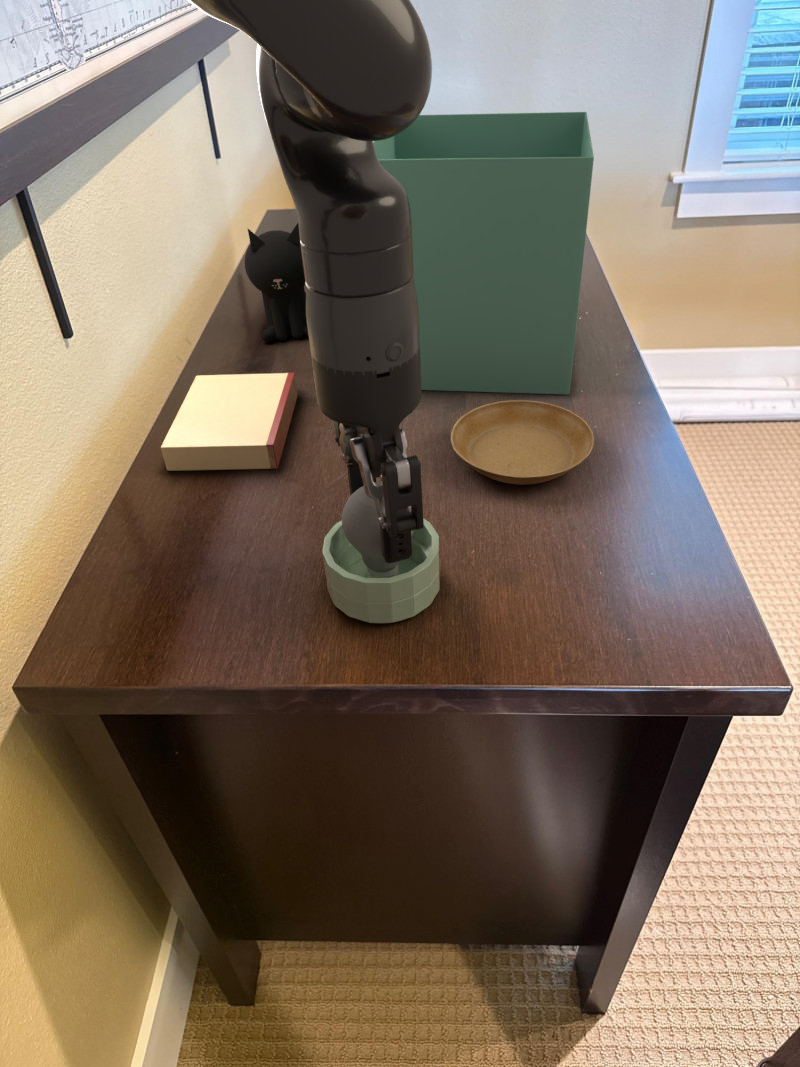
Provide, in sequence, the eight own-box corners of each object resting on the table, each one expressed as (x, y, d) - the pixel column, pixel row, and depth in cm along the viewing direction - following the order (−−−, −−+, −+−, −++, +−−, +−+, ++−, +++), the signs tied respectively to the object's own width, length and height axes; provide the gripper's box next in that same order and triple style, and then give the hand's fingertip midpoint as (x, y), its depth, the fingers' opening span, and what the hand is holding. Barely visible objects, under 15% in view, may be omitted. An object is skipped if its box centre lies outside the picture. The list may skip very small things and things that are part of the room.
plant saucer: (584, 506, 75) (587, 484, 73) (436, 487, 78) (435, 466, 77) (597, 427, 86) (599, 406, 84) (466, 414, 89) (466, 394, 87)
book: (277, 469, 82) (273, 444, 80) (167, 471, 83) (160, 447, 81) (297, 395, 95) (294, 372, 93) (201, 397, 95) (196, 374, 93)
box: (566, 321, 107) (586, 111, 91) (569, 394, 92) (593, 157, 75) (401, 318, 111) (391, 115, 94) (376, 388, 95) (359, 159, 78)
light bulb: (337, 597, 66) (325, 503, 59) (366, 554, 70) (357, 462, 64) (403, 614, 64) (397, 519, 57) (428, 568, 68) (425, 475, 62)
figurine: (252, 358, 103) (231, 244, 94) (258, 315, 114) (240, 209, 104) (372, 348, 103) (363, 234, 94) (367, 307, 114) (358, 201, 105)
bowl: (347, 640, 62) (342, 595, 59) (316, 567, 70) (309, 524, 66) (457, 608, 65) (457, 563, 62) (416, 540, 72) (414, 497, 69)
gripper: (286, 313, 57) (313, 491, 67) (342, 400, 47) (363, 596, 57) (382, 295, 59) (393, 471, 69) (457, 375, 48) (457, 569, 59)
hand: (380, 527), depth 63 cm, fingers open, 8 cm apart
